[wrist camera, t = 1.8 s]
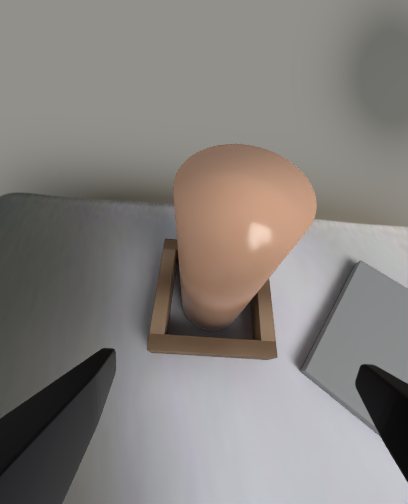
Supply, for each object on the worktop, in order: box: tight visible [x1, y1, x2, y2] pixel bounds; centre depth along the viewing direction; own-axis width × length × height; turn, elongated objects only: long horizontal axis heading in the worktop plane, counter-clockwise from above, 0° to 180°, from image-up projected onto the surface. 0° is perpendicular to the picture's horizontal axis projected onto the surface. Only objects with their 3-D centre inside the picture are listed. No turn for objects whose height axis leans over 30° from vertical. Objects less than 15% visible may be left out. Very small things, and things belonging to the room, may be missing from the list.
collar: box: [147, 239, 277, 360], centre depth 21 cm, size 10×10×2 cm
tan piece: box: [173, 144, 316, 331], centre depth 16 cm, size 9×6×15 cm
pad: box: [301, 261, 408, 436], centre depth 20 cm, size 14×14×1 cm
